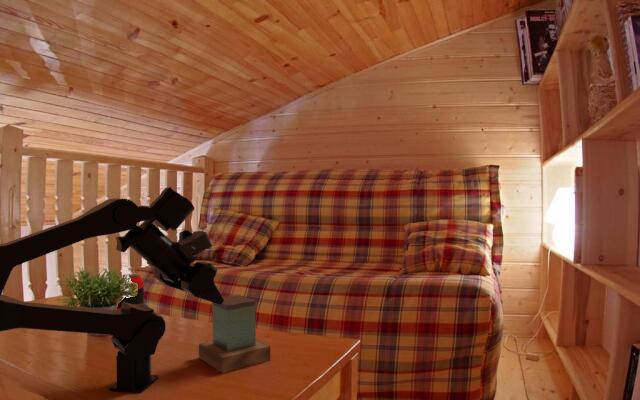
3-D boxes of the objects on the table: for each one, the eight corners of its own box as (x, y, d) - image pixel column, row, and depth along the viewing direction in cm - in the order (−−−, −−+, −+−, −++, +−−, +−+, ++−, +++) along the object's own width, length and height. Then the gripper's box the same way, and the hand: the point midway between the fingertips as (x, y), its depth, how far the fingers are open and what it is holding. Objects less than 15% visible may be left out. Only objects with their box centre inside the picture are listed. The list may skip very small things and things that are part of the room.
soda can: (127, 323, 125) (127, 279, 125) (108, 320, 128) (108, 277, 128) (149, 316, 132) (149, 274, 131) (130, 313, 135) (130, 272, 135)
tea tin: (227, 352, 93) (226, 305, 93) (212, 344, 98) (212, 299, 98) (255, 345, 97) (255, 300, 97) (240, 338, 102) (240, 295, 102)
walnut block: (222, 373, 90) (222, 358, 90) (198, 357, 98) (198, 343, 98) (270, 360, 97) (270, 346, 97) (244, 346, 105) (244, 333, 105)
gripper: (206, 219, 83) (259, 273, 90) (168, 216, 98) (216, 262, 105) (163, 268, 78) (223, 320, 86) (130, 256, 93) (183, 302, 100)
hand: (211, 298), depth 94 cm, fingers open, 9 cm apart
